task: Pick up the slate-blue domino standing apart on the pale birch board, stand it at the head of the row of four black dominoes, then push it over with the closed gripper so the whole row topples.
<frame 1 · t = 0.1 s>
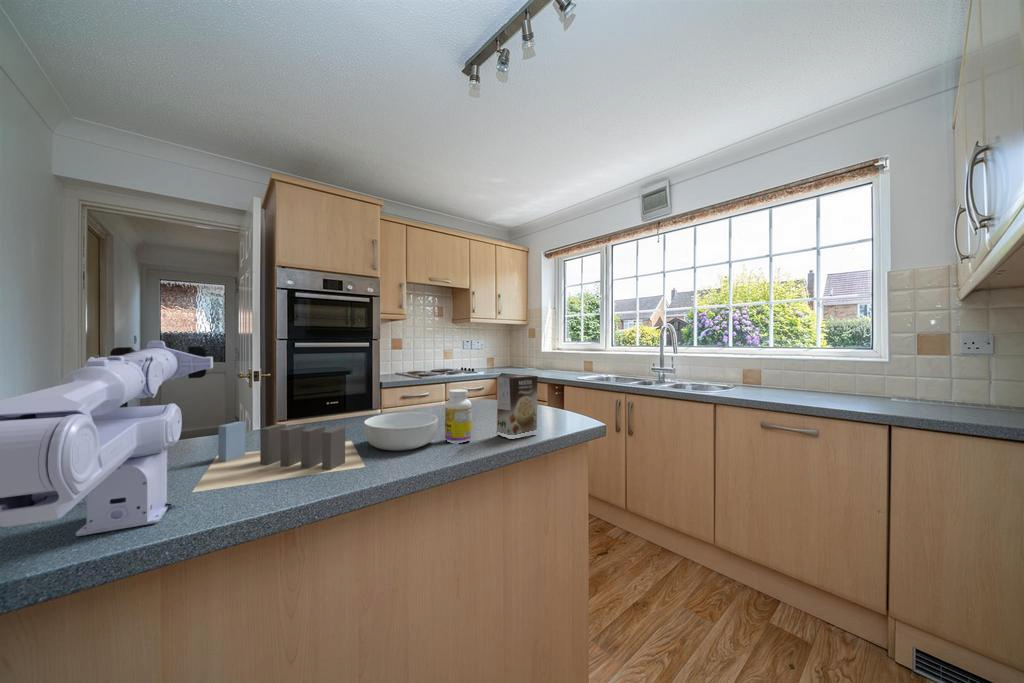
hand: (172, 358, 72), 22 cm above the worktop, tool horizontal, fingers open, 7 cm apart
tile 2: (273, 461, 76), point 1 cm above the worktop, touching board
dessert mix box: (517, 436, 103), on the worktop
tile 3: (293, 462, 76), point 1 cm above the worktop, touching board
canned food: (107, 468, 75), on the worktop
tile 5: (333, 465, 74), point 1 cm above the worktop, touching board
supplement bottle: (458, 442, 97), on the worktop
tile 4: (313, 464, 75), point 1 cm above the worktop, touching board
board: (288, 466, 77), on the worktop
tile blue: (232, 458, 78), point 1 cm above the worktop, touching board
cereal bowl: (401, 449, 90), on the worktop
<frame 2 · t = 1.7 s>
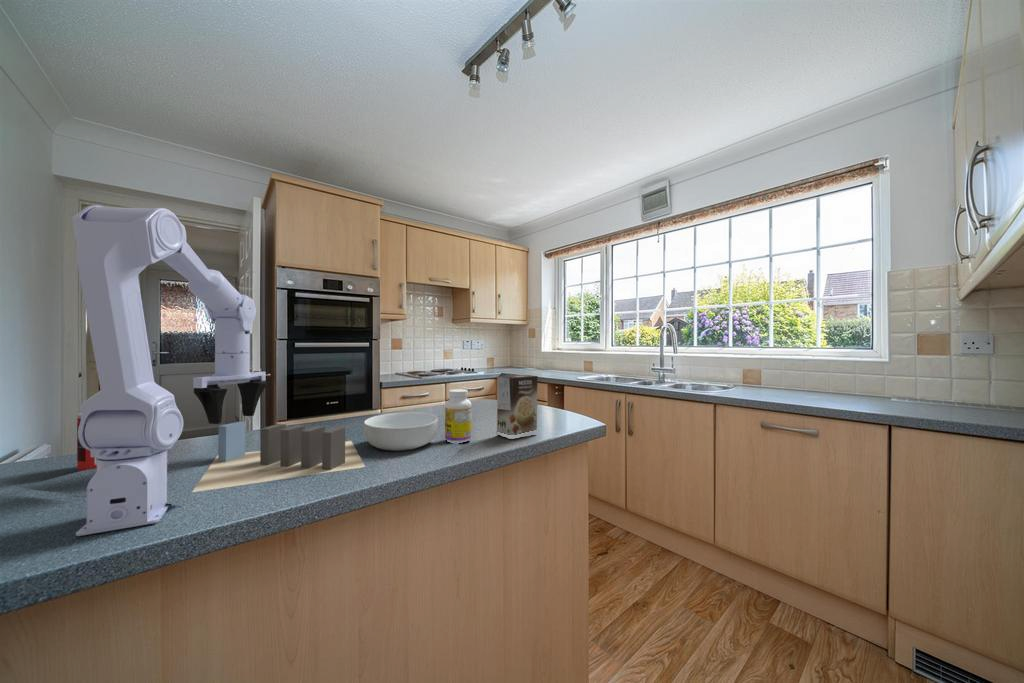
hand: (232, 419, 78), 9 cm above the worktop, tool pointing down, fingers open, 7 cm apart
nothing on the worktop moved.
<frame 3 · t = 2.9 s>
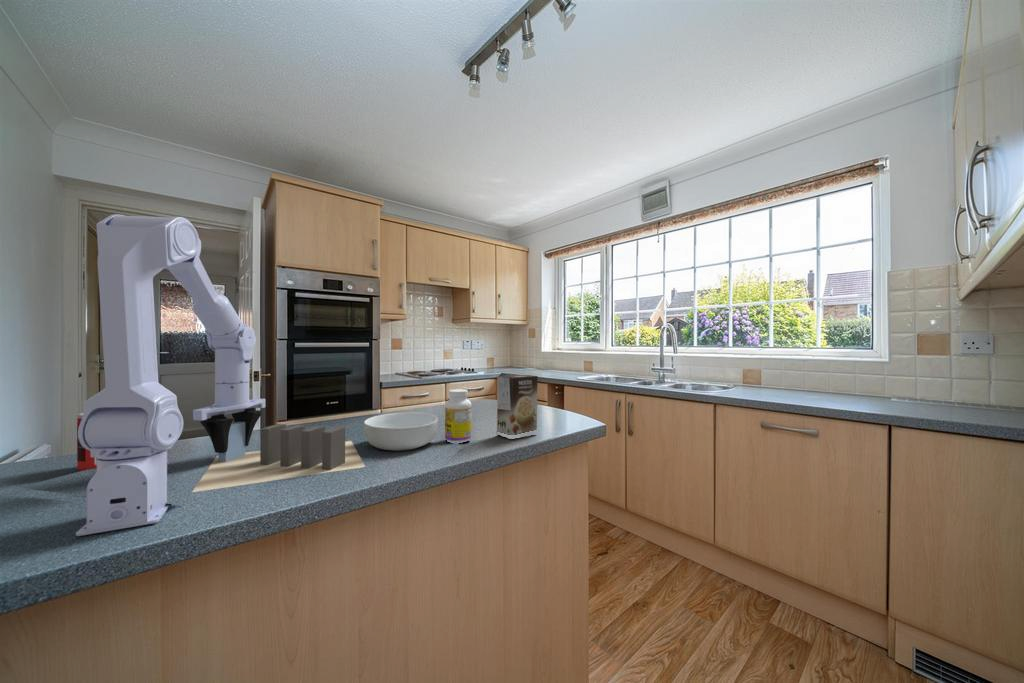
hand: (232, 448, 78), 3 cm above the worktop, tool pointing down, fingers closed on tile blue, 4 cm apart
tile blue: (232, 458, 78), point 1 cm above the worktop, touching board, gripper
everything else where it was.
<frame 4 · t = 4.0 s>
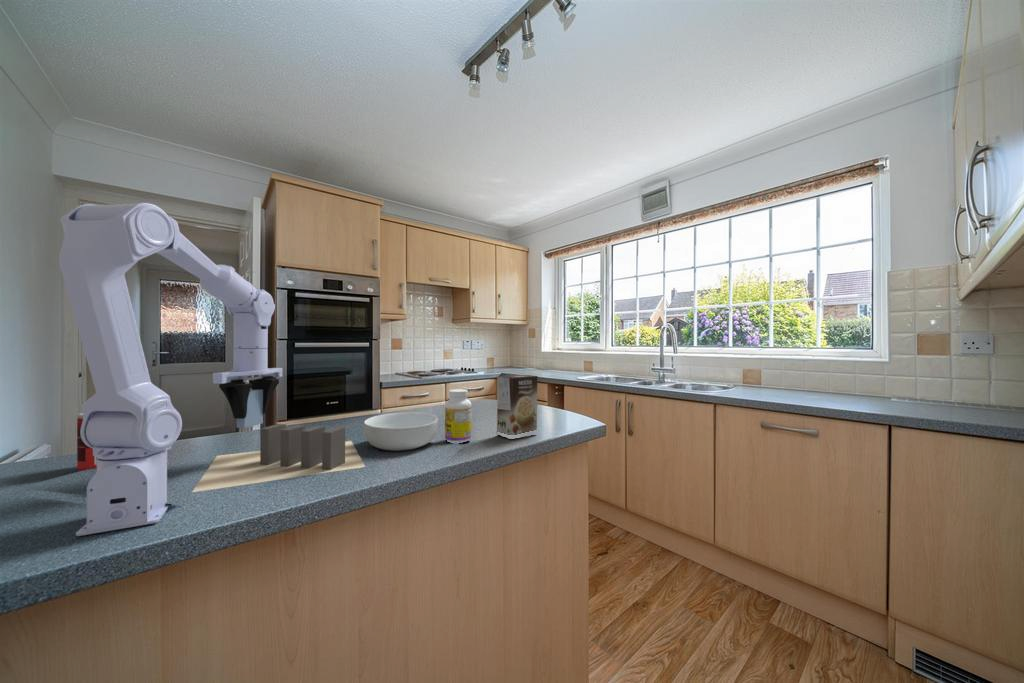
hand: (250, 415, 77), 10 cm above the worktop, tool pointing down, fingers closed on tile blue, 4 cm apart
tile blue: (250, 425, 77), point 8 cm above the worktop, touching gripper
everything else where it was.
when the fingers open (4 cm above the worktop, at t = 5.6 s): tile blue drops 1 cm, resting on board.
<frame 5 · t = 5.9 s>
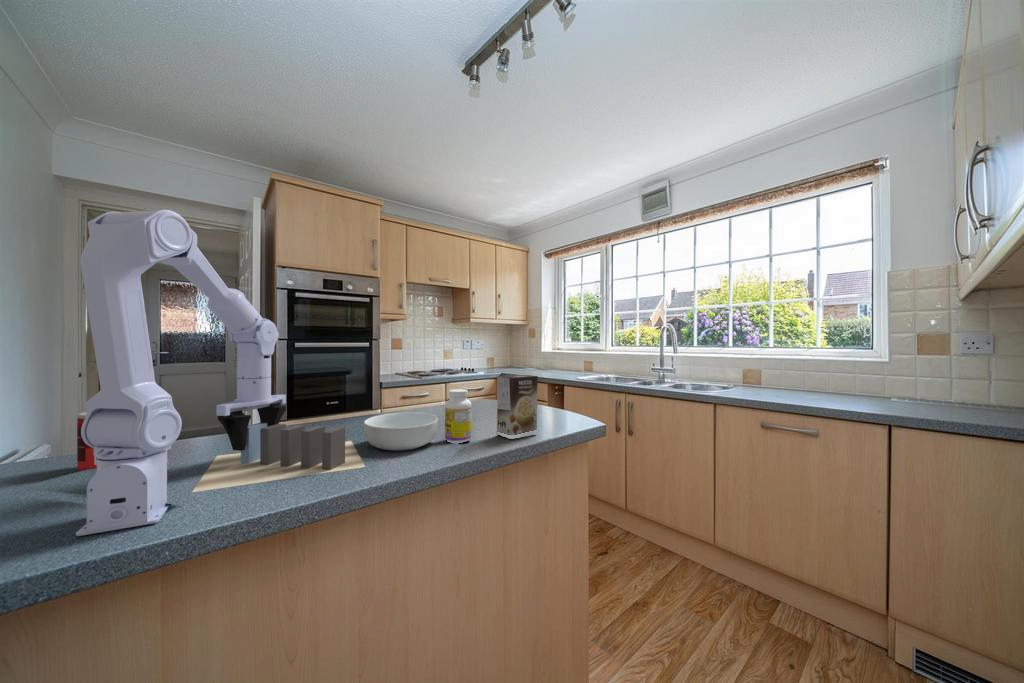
hand: (254, 445, 77), 4 cm above the worktop, tool pointing down, fingers open, 6 cm apart
tile blue: (254, 459, 77), point 1 cm above the worktop, touching board
everything else where it was.
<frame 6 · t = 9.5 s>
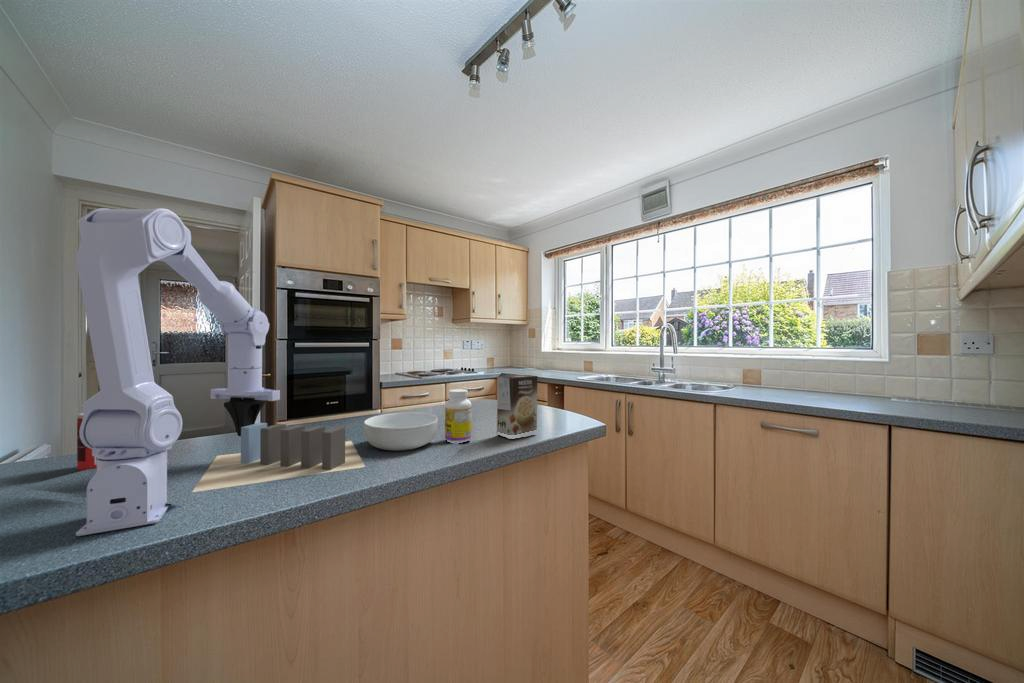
hand: (244, 435, 78), 6 cm above the worktop, tool pointing down, fingers closed
tile blue: (254, 459, 77), point 1 cm above the worktop, touching board, gripper
everything else where it was.
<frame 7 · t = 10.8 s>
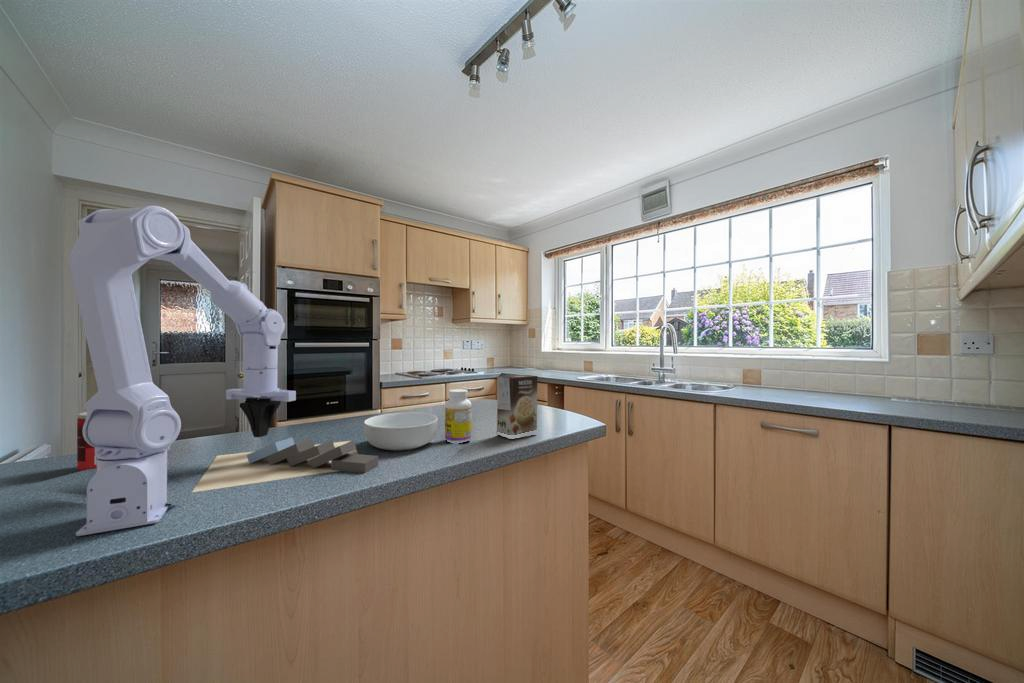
hand: (260, 436, 77), 6 cm above the worktop, tool pointing down, fingers closed
tile 2: (277, 457, 76), point 2 cm above the worktop, tilted 66°, touching board, tile 3, tile blue
tile 3: (296, 458, 75), point 2 cm above the worktop, tilted 67°, touching board, tile 2, tile 4
tile 5: (338, 461, 74), point 2 cm above the worktop, tilted 91°, touching tile 4
tile 4: (318, 460, 74), point 2 cm above the worktop, tilted 65°, touching board, tile 3, tile 5
tile blue: (257, 456, 77), point 2 cm above the worktop, tilted 67°, touching board, tile 2
everything else where it was.
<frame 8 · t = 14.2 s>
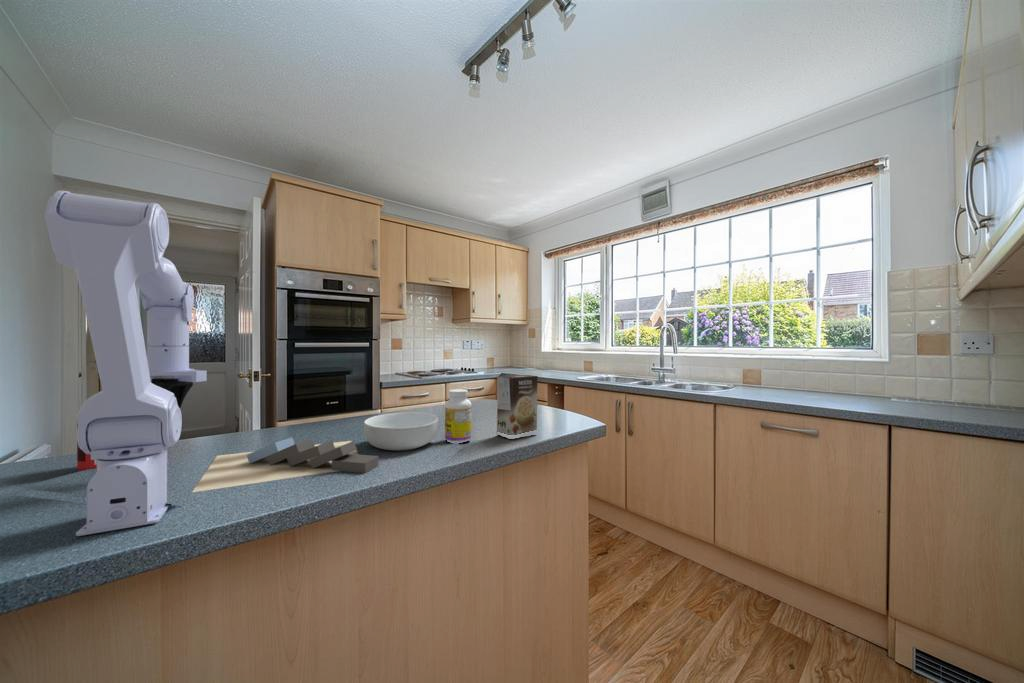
hand: (168, 420, 70), 10 cm above the worktop, tool pointing down, fingers closed
tile 5: (339, 461, 74), point 2 cm above the worktop, tilted 90°, touching board, tile 4
everything else where it was.
at the end: tile 5 tilted 90°; tile blue tilted 67°; tile blue inside the target area (0.8 cm from its centre), point 1.8 cm above the worktop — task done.
